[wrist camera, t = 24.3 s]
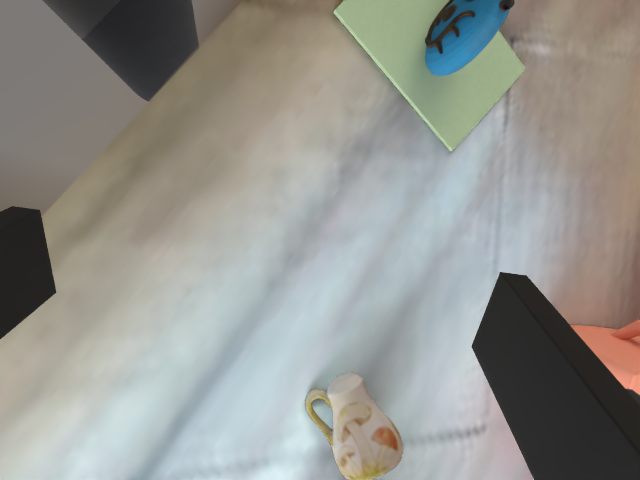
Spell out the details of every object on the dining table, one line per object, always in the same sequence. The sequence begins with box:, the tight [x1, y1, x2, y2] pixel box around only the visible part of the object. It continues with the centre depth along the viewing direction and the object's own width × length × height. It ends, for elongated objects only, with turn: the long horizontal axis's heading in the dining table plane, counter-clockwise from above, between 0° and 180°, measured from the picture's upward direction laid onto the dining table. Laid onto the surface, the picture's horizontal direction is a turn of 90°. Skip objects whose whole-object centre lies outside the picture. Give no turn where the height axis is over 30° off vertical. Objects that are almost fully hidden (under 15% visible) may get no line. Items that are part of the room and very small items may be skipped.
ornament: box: [425, 0, 514, 76], centre depth 33 cm, size 8×5×10 cm, turn 150°
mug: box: [305, 373, 403, 480], centre depth 40 cm, size 8×10×10 cm
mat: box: [333, 0, 526, 151], centre depth 38 cm, size 18×12×1 cm, turn 46°
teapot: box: [570, 319, 640, 395], centre depth 43 cm, size 20×22×14 cm
